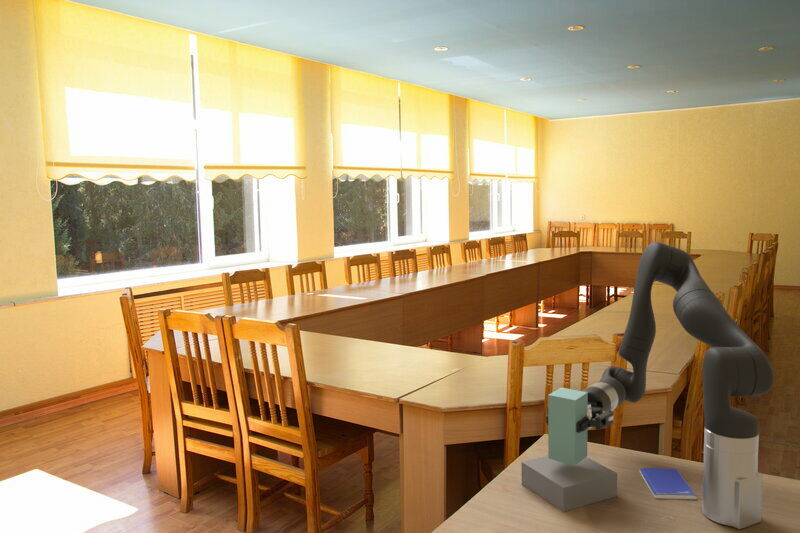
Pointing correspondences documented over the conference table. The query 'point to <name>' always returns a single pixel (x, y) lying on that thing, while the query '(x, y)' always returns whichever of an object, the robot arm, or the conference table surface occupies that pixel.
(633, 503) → the conference table surface
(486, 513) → the conference table surface
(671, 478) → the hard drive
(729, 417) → the robot arm
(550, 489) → the podium
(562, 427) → the carton
